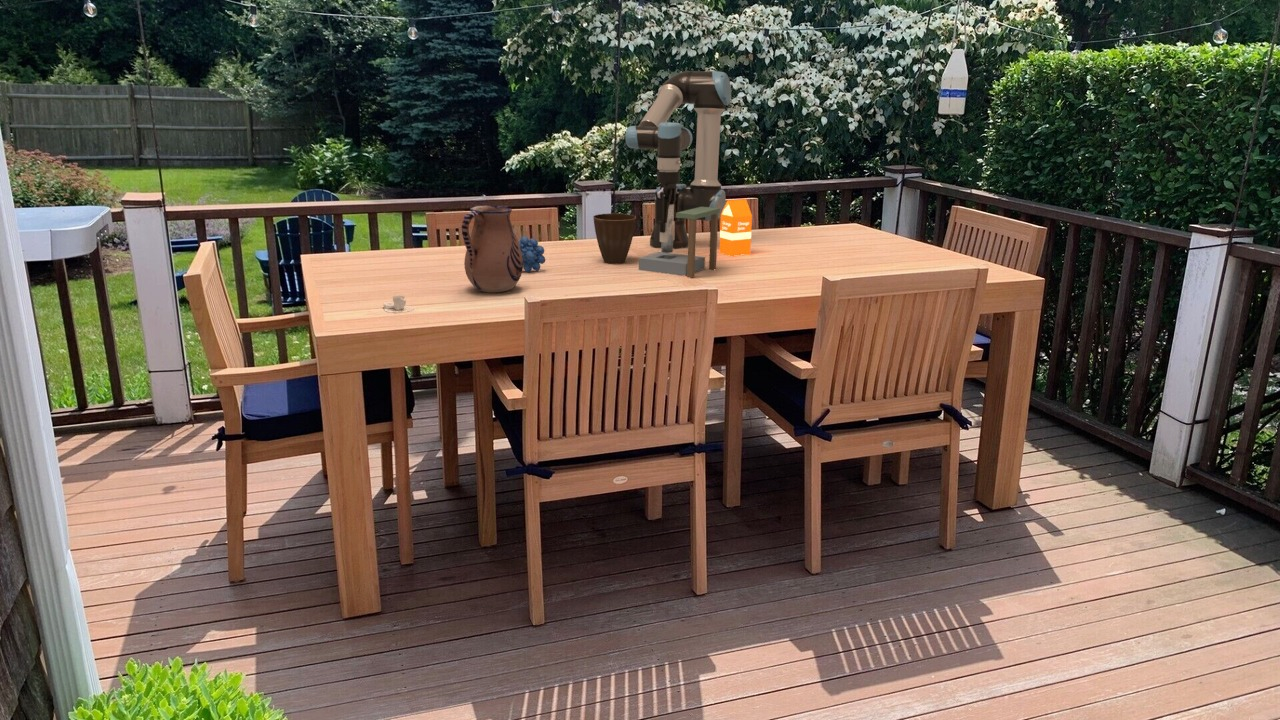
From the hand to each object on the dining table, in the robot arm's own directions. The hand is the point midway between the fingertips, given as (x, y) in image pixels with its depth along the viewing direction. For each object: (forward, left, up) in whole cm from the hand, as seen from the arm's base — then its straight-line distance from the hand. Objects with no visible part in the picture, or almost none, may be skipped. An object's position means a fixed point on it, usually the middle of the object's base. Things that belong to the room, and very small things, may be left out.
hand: (667, 240), depth 312 cm
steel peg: (0, 0, -4) cm, 4 cm away
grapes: (-35, -31, -10) cm, 48 cm away
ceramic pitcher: (-28, -59, -10) cm, 66 cm away
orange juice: (+8, +38, -10) cm, 40 cm away
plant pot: (-21, 0, -10) cm, 23 cm away
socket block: (+2, 0, -10) cm, 10 cm away
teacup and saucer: (-36, -88, -10) cm, 96 cm away
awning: (+11, 0, -10) cm, 15 cm away
